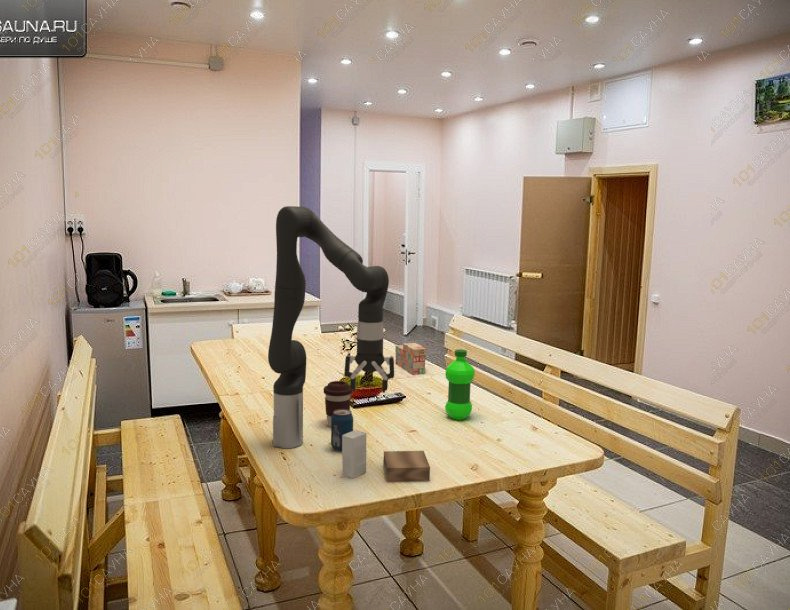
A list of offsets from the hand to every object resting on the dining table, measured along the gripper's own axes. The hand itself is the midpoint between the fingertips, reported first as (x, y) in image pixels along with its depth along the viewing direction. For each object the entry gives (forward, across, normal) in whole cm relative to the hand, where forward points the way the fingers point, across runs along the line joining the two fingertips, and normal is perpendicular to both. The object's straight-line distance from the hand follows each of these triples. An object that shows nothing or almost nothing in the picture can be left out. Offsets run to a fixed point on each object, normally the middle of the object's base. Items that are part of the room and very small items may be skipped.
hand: (369, 391), depth 182 cm
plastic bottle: (+23, +30, +46) cm, 60 cm away
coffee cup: (+23, -13, +34) cm, 43 cm away
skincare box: (+23, -4, -5) cm, 24 cm away
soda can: (+23, -9, +14) cm, 28 cm away
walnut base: (+23, +11, -3) cm, 26 cm away
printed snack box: (+24, +11, +112) cm, 116 cm away
